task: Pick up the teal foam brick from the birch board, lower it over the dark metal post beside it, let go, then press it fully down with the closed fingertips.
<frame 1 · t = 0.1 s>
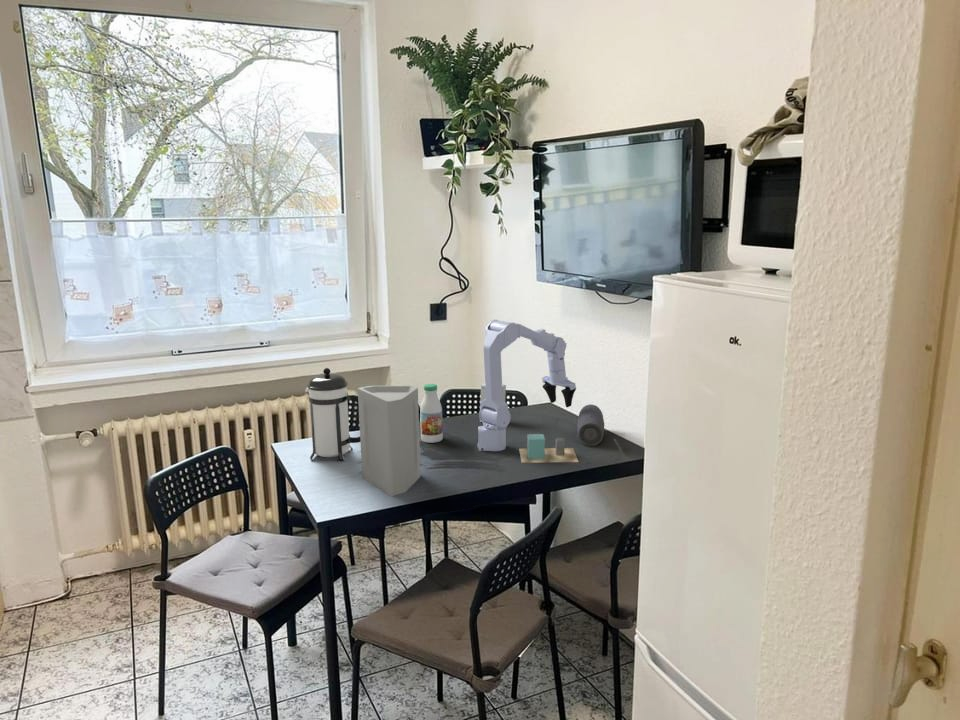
hand: (560, 404, 253), 11 cm above the table, tool pointing down, fingers open, 7 cm apart
milk bottle: (431, 440, 249), on the table
teal foam brick: (535, 456, 227), point 1 cm above the table, touching base board
coffee press: (336, 456, 234), on the table
skincare box: (492, 422, 268), on the table
hollow triangular prism: (397, 480, 212), on the table
base board: (547, 459, 228), on the table
post: (559, 453, 229), resting on base board
bluetooth speaker: (590, 439, 248), on the table
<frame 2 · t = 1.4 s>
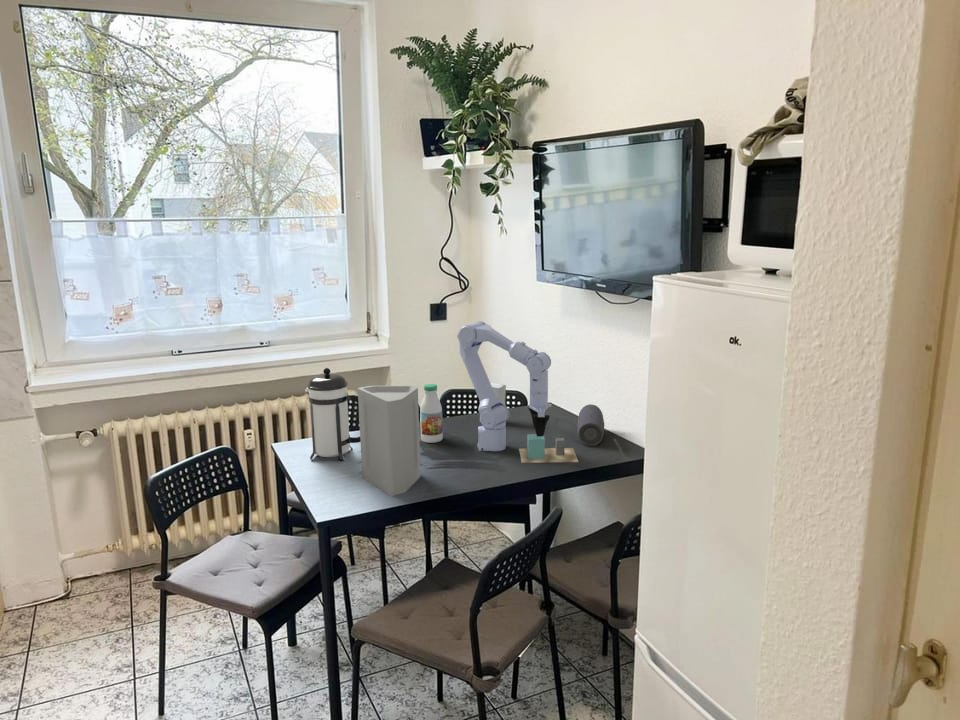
hand: (538, 432, 225), 9 cm above the table, tool pointing down, fingers open, 7 cm apart
nothing on the table moved.
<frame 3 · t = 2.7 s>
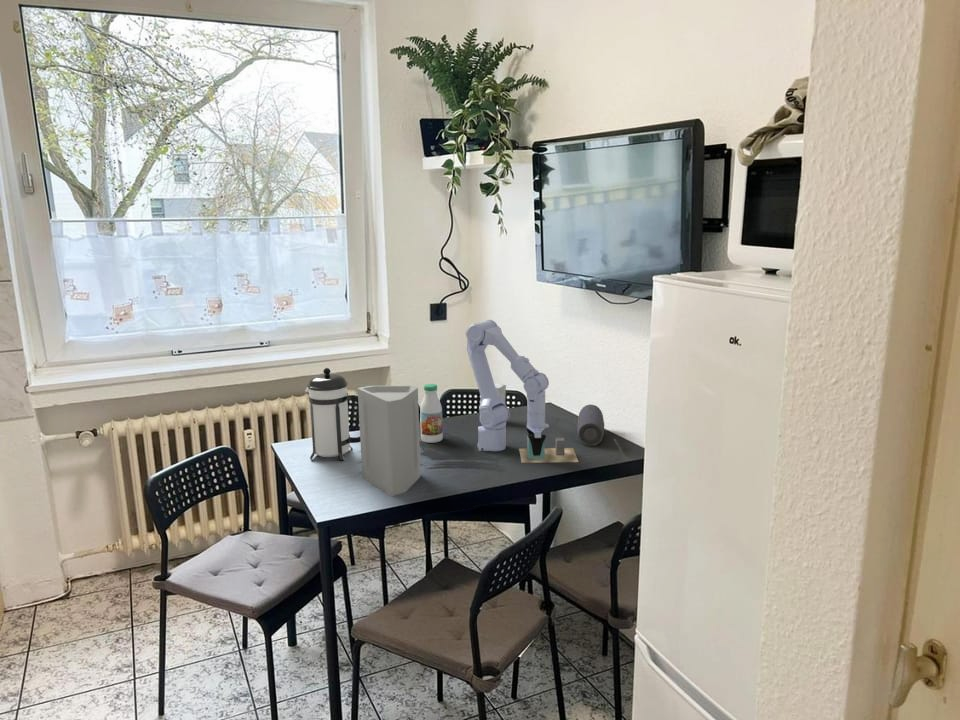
hand: (535, 452, 226), 3 cm above the table, tool pointing down, fingers closed on teal foam brick, 5 cm apart
teal foam brick: (535, 456, 227), point 2 cm above the table, touching base board, gripper
everything else where it was.
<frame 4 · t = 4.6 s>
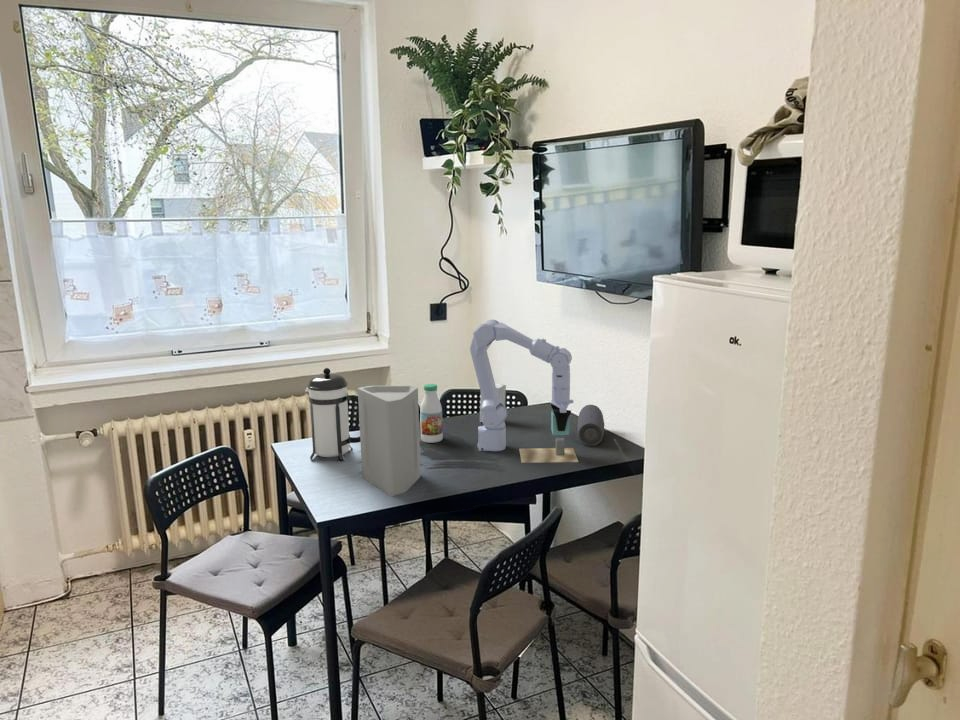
hand: (560, 428, 227), 10 cm above the table, tool pointing down, fingers closed on teal foam brick, 5 cm apart
teal foam brick: (560, 432, 227), point 9 cm above the table, touching gripper
everything else where it was.
when the fingers open (4 cm above the table, at t = 6.4 s): teal foam brick drops 1 cm, resting on base board.
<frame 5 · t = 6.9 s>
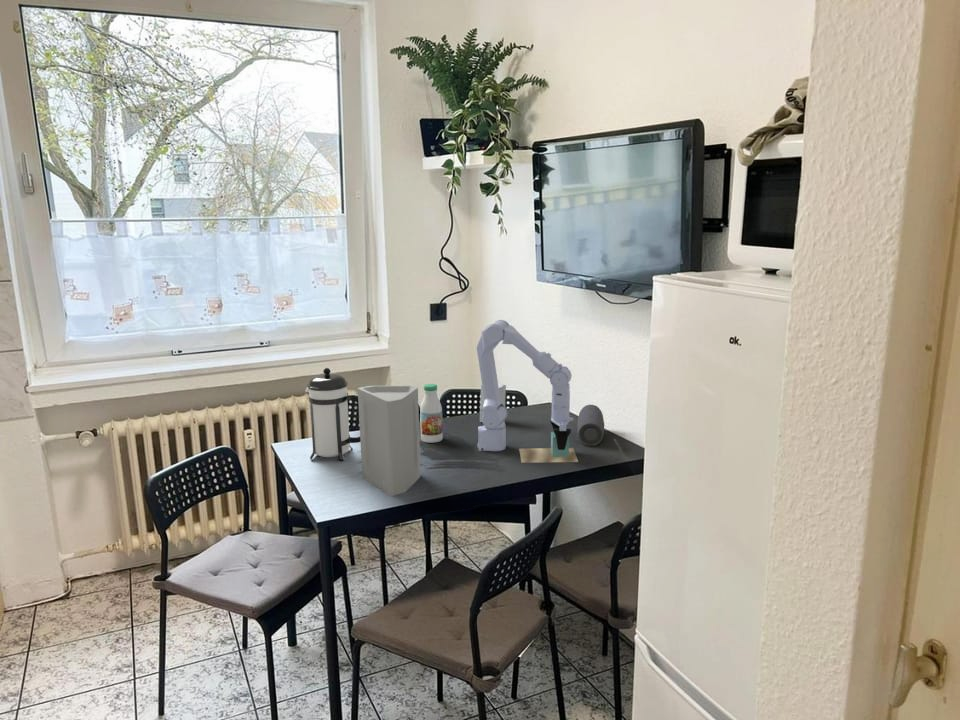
hand: (560, 445, 228), 4 cm above the table, tool pointing down, fingers open, 7 cm apart
teal foam brick: (559, 453, 229), point 1 cm above the table, touching base board
everything else where it was.
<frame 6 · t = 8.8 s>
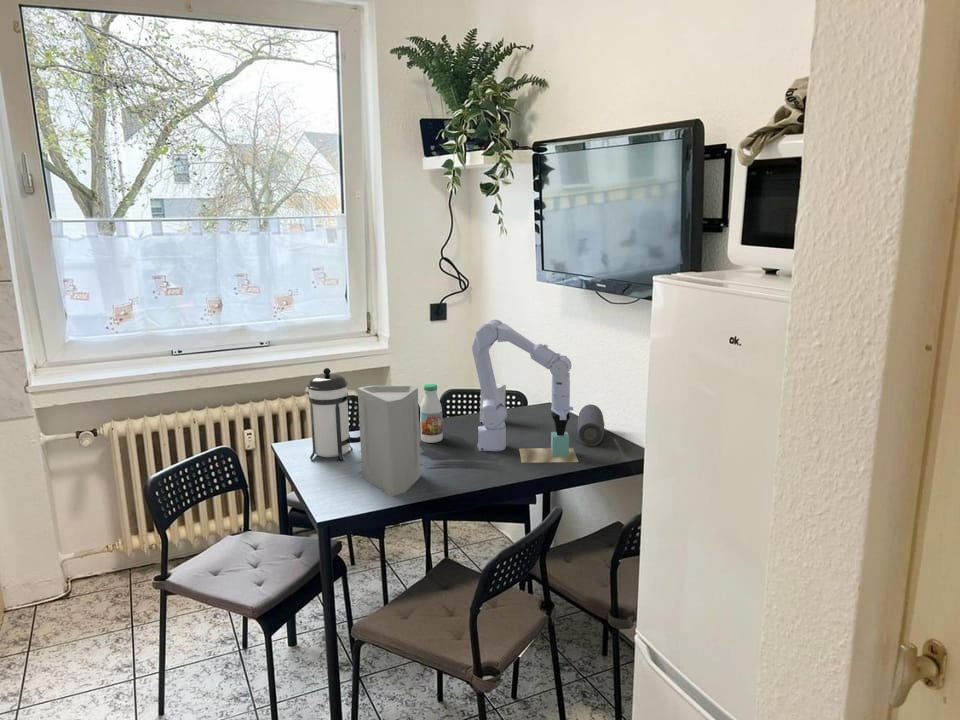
hand: (560, 435, 227), 8 cm above the table, tool pointing down, fingers closed, pressing on teal foam brick
teal foam brick: (559, 453, 229), point 1 cm above the table, touching base board, gripper
everything else where it was.
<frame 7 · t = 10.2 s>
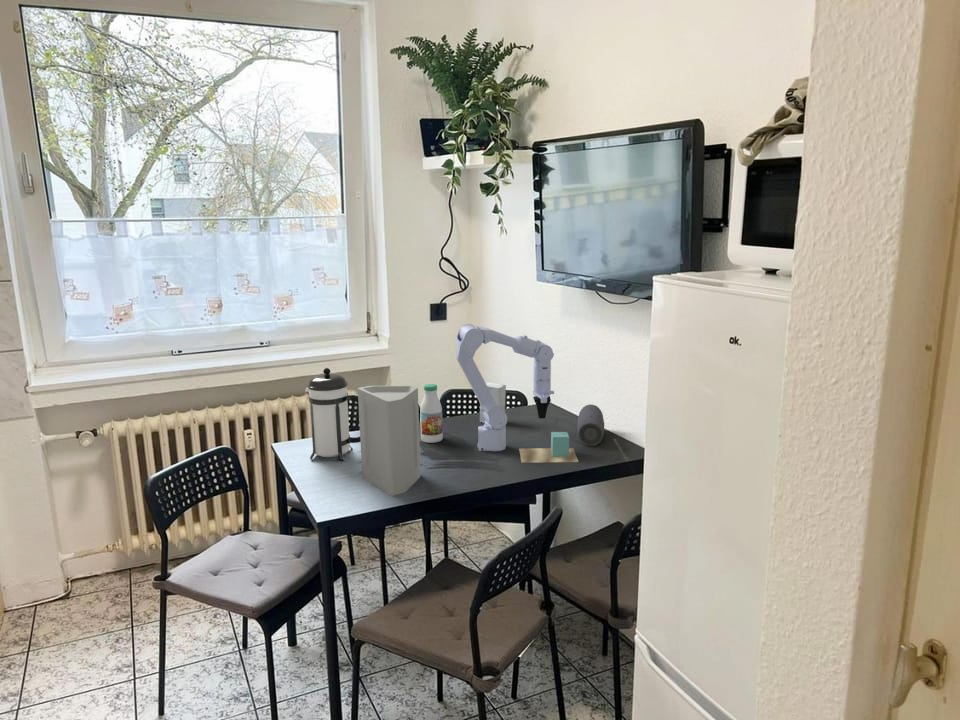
hand: (541, 417, 238), 10 cm above the table, tool pointing down, fingers closed
teal foam brick: (559, 453, 229), point 1 cm above the table, touching base board
everything else where it was.
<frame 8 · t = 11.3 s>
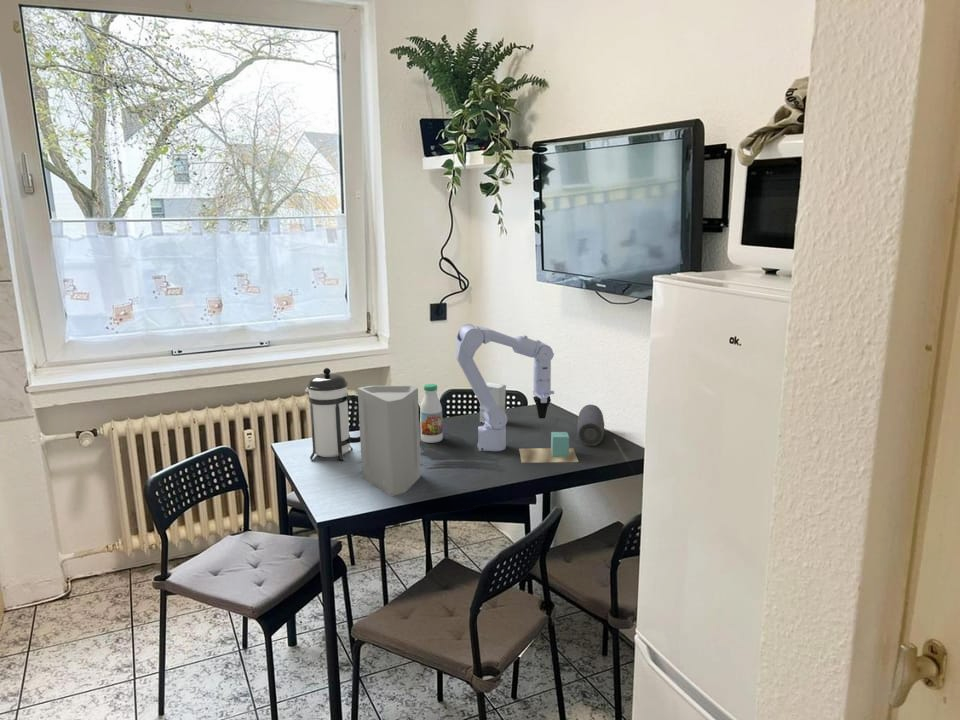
hand: (541, 417, 238), 10 cm above the table, tool pointing down, fingers closed
nothing on the table moved.
at the end: teal foam brick 0.0 cm from the post (horizontally); teal foam brick point 1.5 cm above the table; the gripper is holding nothing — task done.
